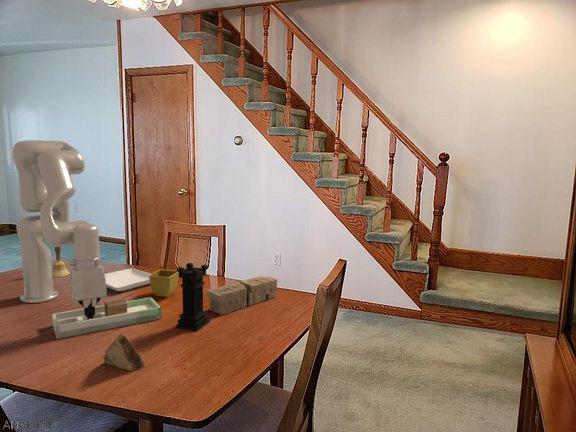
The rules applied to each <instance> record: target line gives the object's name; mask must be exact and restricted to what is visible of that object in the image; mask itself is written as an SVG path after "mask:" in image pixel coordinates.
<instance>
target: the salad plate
mask: <svg viewBox="0 0 576 432" xmlns="http://www.w3.org/2000/svg"><path fill="white" fill-rule="evenodd" d="M151 274H152V273H150V272H147V271H144V270H139V269H136V268H130V267H129V268H125V269H121V270H117V271H116V270H115V271H112V272H107V273H105V280H106V289H109V290H113V291H115V292H125V291H129V290H133V289H136V288H140V287H143V286H146V285H150V279H149V275H151Z"/></svg>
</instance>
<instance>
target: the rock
mask: <svg viewBox="0 0 576 432" xmlns="http://www.w3.org/2000/svg"><path fill="white" fill-rule="evenodd" d="M103 362H104V363H105V364H108V365H111V366H113V367H117V368H119V369H123V370H126V371H135V370H136V371H137V370H139V369H142V368H145V367H146V364H145V362H144V360H143V358H142V356H141V355H140V354H139V352H138V351H137V349H136V348H135V347H134V345H133V344H132V343H131V341H130V340H128V339H127V337H126V336H125V335H124V334H122V333H121V334H119V335H118V336H117V337H116V338H115V340H114V341H113V342H112V343H111V344H110V345H109V346H108V348H107V349H106V350H105V353H104V356H103Z"/></svg>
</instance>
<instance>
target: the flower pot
mask: <svg viewBox="0 0 576 432" xmlns="http://www.w3.org/2000/svg"><path fill="white" fill-rule="evenodd" d="M149 279H150V284H149V285H150V288H151V291H152V292H153V293H152V294H154V295H155V297H162V298H164V297H165V298H168V297H170V296H172V295H173V294H174V292H175V291H176V289H177V287H178V285H179V284H178V283H179V272H177V270H169V269H158V270H156V271H154V272H153V273H151V275H149Z"/></svg>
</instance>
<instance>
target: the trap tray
mask: <svg viewBox="0 0 576 432" xmlns="http://www.w3.org/2000/svg"><path fill="white" fill-rule="evenodd" d="M125 301H126V300H125ZM126 303H127V313H123V314H117V315H112V316H106V315H105V307H104V304H103V305H98V306H97V305H96V306H95V315H93V319H92V318H90V319H88V318H87V316H85V313H84V308H80V309H79V308H78V309H73V310H68V311H67V310H66V311H62V312H55V313H51V317H52V318H51V319H52V323H51V324H52V327H53V331H54V333H55V334H54V335H55V338H56V340H58V339H63V338H68V337H74V336H80V335H85V334H90V333H93V332H94V333H95V332H100V331H104V330H110V329H115V328H119V327H125V326H131V325H135V324H140V323H145V322H151V321H155V320H161V319H162V307H161V305H159V304H158V303H157V301H155V299H154V298H153V297H150V296H149V297H144V298H140V299H134V300H128V301H126Z"/></svg>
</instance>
